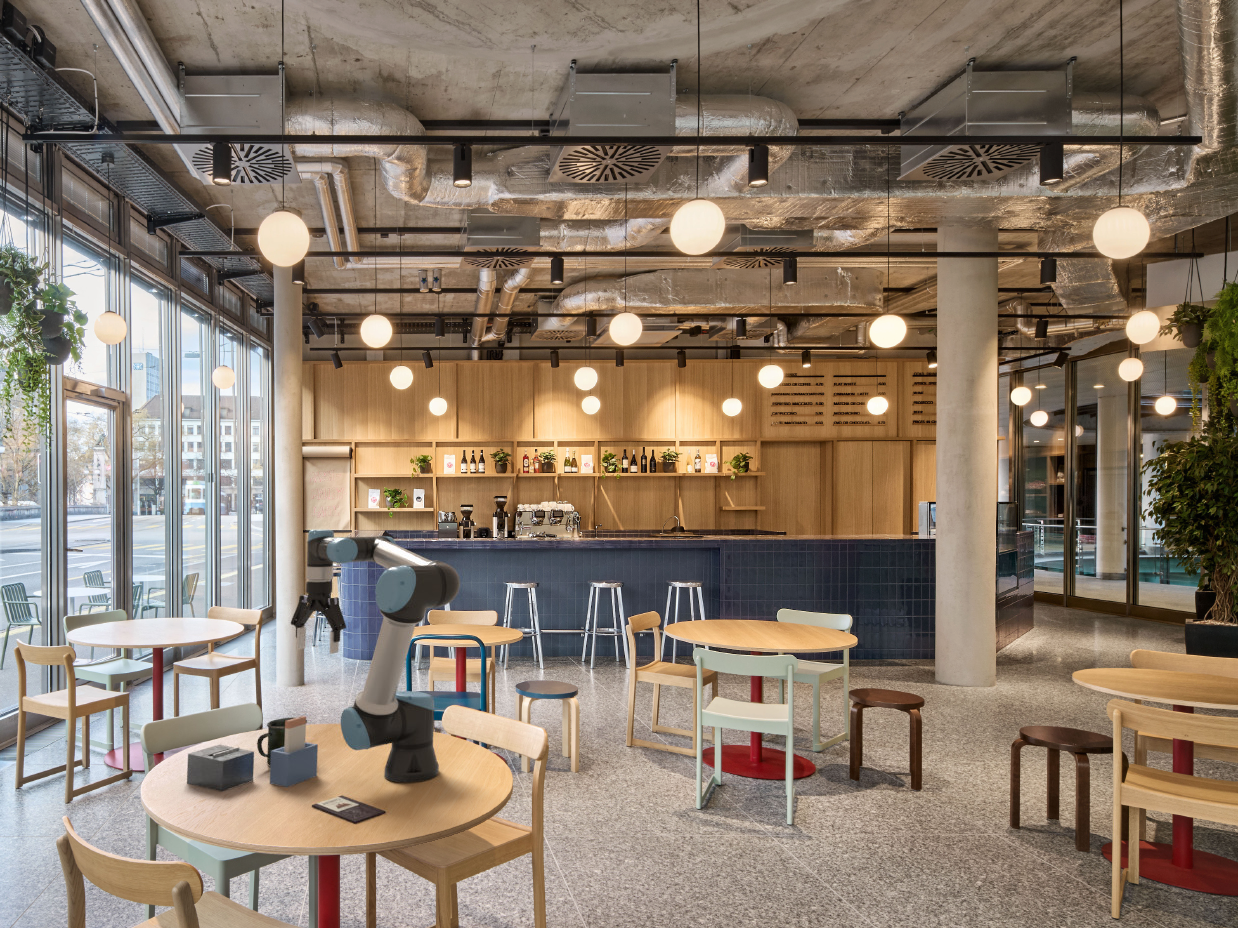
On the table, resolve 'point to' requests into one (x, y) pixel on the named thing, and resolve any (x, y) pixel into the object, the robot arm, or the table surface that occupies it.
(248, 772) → the dispenser
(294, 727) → the ticket
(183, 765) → the table surface
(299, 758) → the blue open box
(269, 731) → the mug
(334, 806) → the chocolate bar
